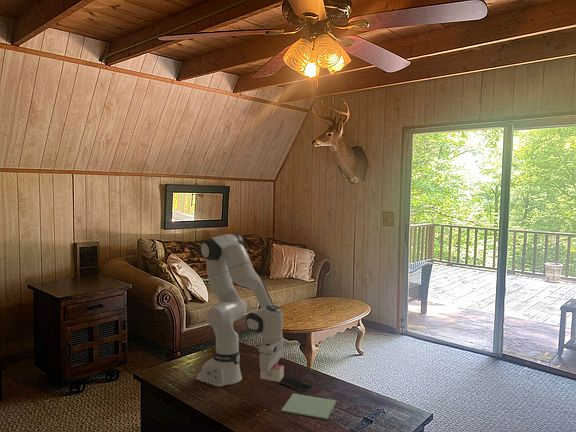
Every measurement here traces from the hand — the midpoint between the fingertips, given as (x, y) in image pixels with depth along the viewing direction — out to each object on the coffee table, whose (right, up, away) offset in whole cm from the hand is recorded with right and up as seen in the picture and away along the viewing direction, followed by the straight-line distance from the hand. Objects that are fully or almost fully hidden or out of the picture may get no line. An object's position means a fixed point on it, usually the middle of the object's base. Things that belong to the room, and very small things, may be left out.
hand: (271, 373), depth 191 cm
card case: (0, -2, 0) cm, 2 cm away
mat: (+16, -12, -5) cm, 21 cm away
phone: (+11, -12, +16) cm, 22 cm away
